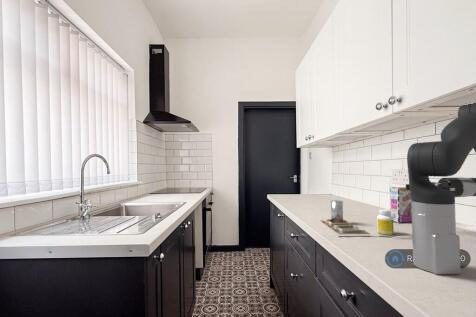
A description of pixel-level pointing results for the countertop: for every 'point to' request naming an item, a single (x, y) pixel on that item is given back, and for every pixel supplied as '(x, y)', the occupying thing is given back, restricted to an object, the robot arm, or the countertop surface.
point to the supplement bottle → (385, 223)
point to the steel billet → (336, 211)
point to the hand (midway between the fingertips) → (413, 188)
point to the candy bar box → (400, 204)
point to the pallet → (345, 228)
